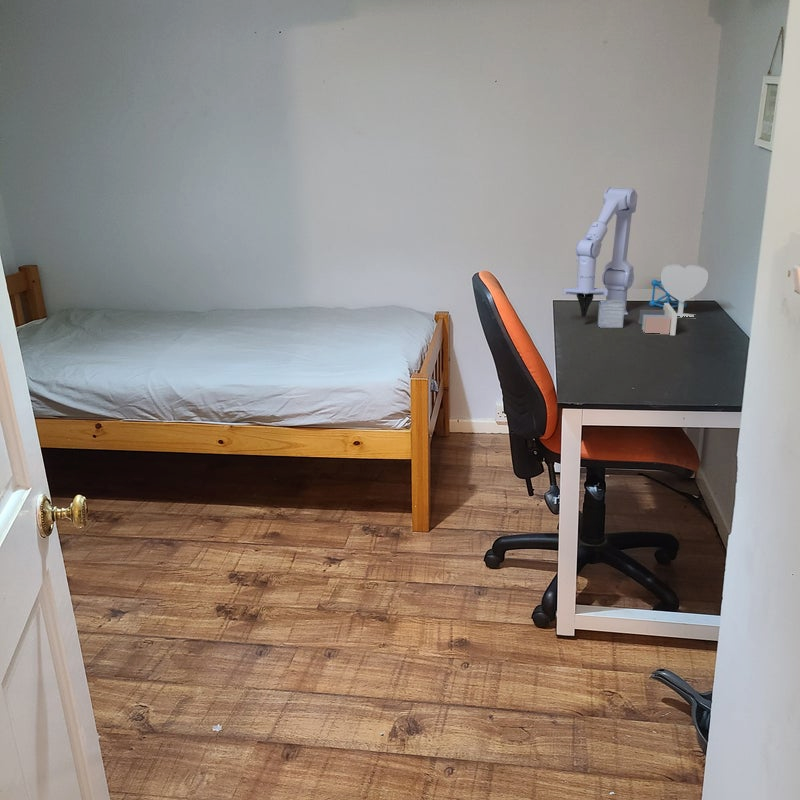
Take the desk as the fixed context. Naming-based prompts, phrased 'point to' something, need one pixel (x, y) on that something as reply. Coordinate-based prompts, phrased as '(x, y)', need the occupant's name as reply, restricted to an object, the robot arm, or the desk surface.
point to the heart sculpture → (683, 282)
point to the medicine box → (611, 313)
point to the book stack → (659, 320)
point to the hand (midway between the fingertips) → (583, 315)
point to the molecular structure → (667, 300)
